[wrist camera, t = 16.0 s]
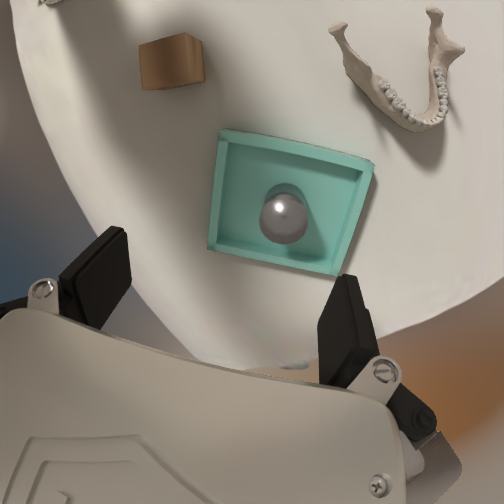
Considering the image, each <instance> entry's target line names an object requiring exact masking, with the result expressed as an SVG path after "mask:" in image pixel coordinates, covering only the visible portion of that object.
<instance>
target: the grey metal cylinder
mask: <svg viewBox="0 0 504 504" xmlns="http://www.w3.org/2000/svg"><path fill="white" fill-rule="evenodd" d="M259 226H260V229H261V231H262V233H263V235H264V236H265V237H266V238H267V239H269V240H270V241H272V242H274V243H277V244H284V245H285V244H291V243H294V242H296V241H298V240H299V239H301V238H302V237H303V235H304V234H305V232H306V230H307V226H308V218H307V208H306V199H305V196H304V194H303V192H302V191H301V190H300V189H299V188H298V187H297V186H295V185H293V184H289V183H281V184H277V185H275V186H273V187H272V188H271V189H270V190H269V191H268V193H267V194H266V197H265V200H264V204H263V207H262V211H261V214H260V218H259Z"/></svg>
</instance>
